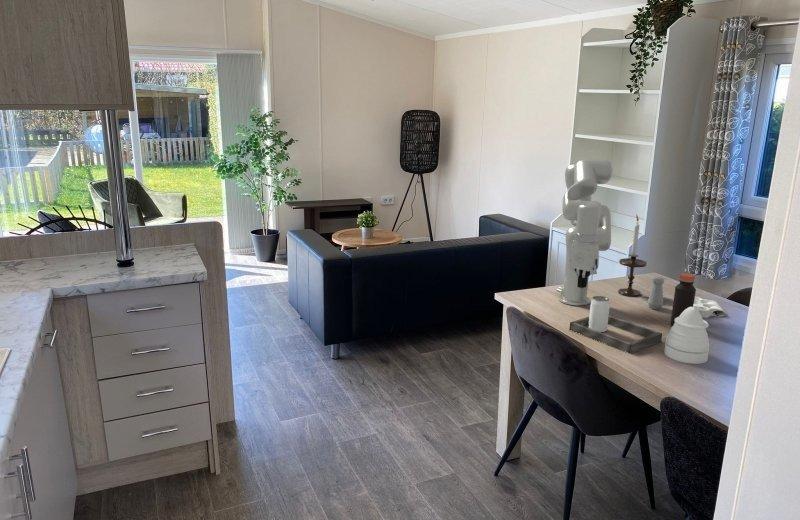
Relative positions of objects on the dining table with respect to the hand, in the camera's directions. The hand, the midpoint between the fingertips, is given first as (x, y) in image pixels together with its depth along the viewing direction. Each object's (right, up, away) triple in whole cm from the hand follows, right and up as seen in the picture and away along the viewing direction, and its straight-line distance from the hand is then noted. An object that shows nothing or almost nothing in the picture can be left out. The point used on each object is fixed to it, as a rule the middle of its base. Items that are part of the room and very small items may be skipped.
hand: (581, 287), depth 216 cm
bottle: (+37, -15, +1) cm, 40 cm away
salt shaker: (+36, -10, +21) cm, 43 cm away
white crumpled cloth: (+53, -11, +19) cm, 58 cm away
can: (+5, -16, -2) cm, 17 cm away
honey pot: (+27, -21, -23) cm, 42 cm away
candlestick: (+33, -5, +39) cm, 51 cm away
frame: (+9, -17, -8) cm, 21 cm away
